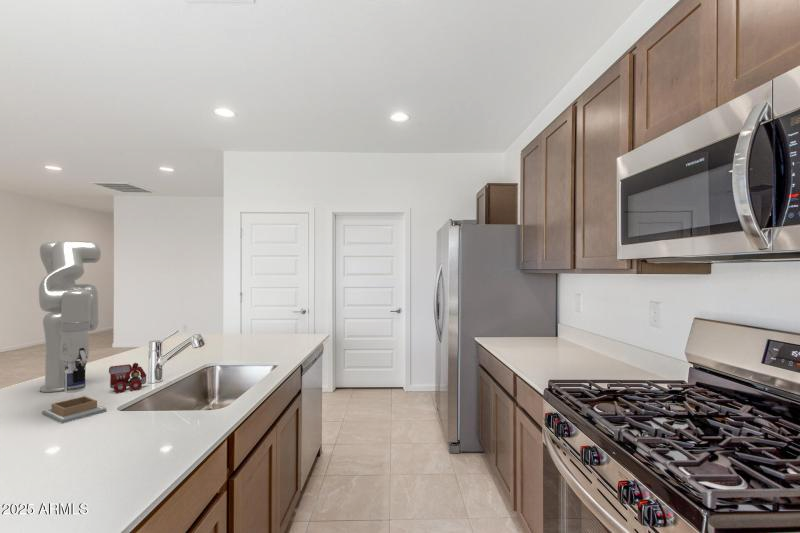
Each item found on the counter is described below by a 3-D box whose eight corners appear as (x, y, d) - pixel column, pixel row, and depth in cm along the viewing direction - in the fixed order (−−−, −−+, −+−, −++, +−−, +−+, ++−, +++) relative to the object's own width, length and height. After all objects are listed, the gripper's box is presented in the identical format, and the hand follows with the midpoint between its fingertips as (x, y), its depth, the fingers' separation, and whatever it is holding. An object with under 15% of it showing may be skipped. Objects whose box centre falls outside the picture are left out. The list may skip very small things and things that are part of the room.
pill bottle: (89, 388, 131) (89, 360, 131) (71, 393, 126) (71, 364, 126) (78, 387, 133) (78, 359, 133) (60, 392, 128) (60, 362, 128)
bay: (42, 413, 128) (42, 403, 128) (85, 403, 138) (85, 393, 138) (61, 423, 120) (62, 412, 120) (106, 411, 130) (106, 401, 130)
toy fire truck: (147, 388, 156) (147, 363, 156) (109, 394, 148) (109, 368, 148) (145, 384, 161) (145, 360, 162) (108, 390, 154) (108, 364, 154)
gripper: (51, 326, 131) (50, 380, 130) (72, 330, 122) (72, 387, 122) (78, 324, 137) (77, 374, 137) (100, 327, 129) (99, 381, 128)
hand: (75, 380), depth 129 cm, fingers closed on pill bottle, 5 cm apart
